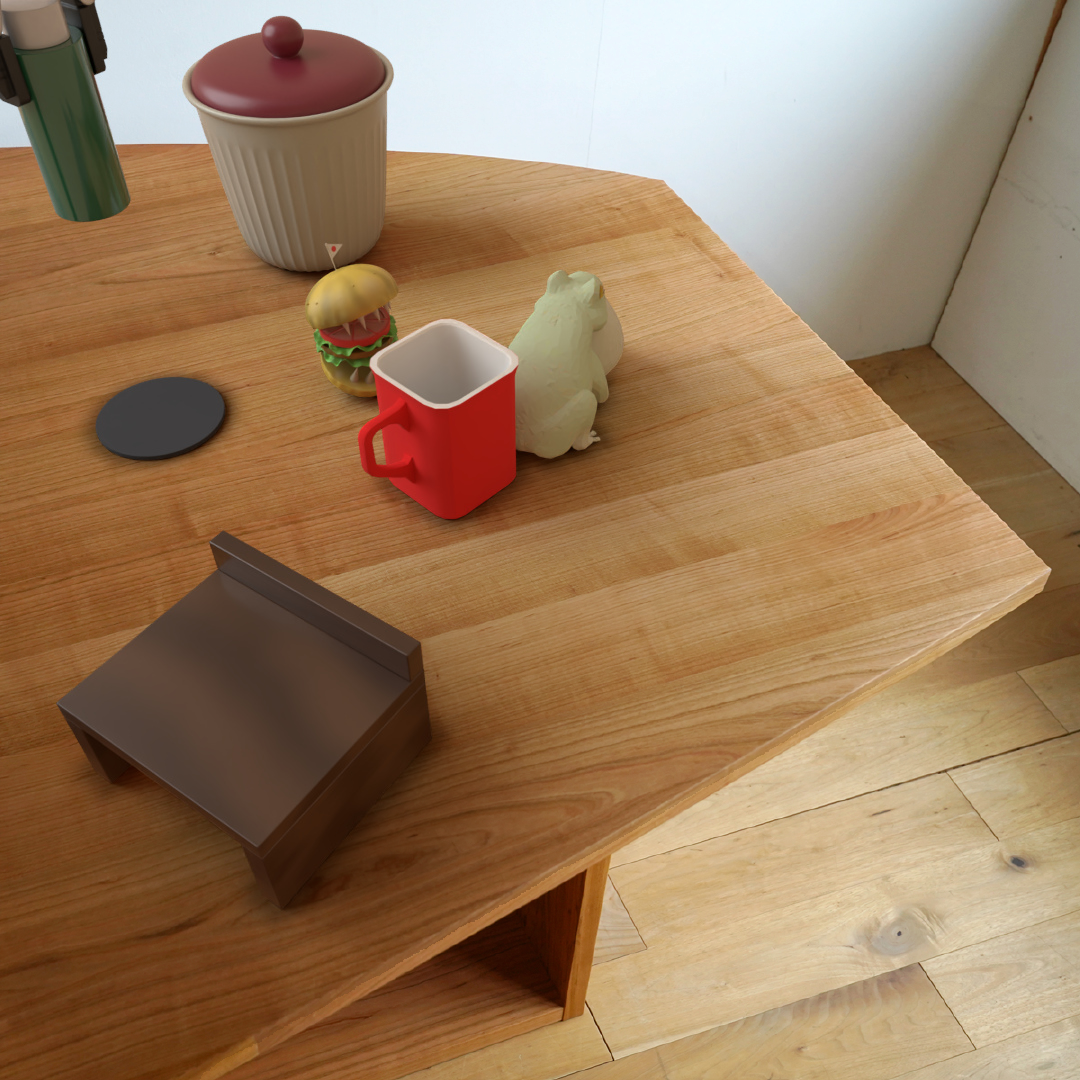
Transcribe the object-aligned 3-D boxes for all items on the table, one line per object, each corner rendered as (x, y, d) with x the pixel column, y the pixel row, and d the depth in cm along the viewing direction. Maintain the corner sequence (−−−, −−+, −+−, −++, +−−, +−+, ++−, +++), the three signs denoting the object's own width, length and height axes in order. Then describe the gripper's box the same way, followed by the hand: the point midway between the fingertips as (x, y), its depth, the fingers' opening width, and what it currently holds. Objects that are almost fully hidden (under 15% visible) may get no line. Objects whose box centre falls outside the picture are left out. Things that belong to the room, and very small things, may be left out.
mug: (454, 425, 83) (446, 313, 75) (529, 474, 79) (529, 360, 71) (336, 501, 77) (315, 386, 69) (411, 557, 73) (397, 443, 65)
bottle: (87, 230, 63) (17, 21, 54) (38, 208, 65) (-37, 3, 56) (146, 199, 65) (88, -4, 57) (98, 179, 67) (35, -21, 59)
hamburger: (360, 420, 83) (340, 291, 75) (299, 385, 86) (273, 257, 78) (426, 375, 87) (414, 248, 79) (366, 343, 91) (348, 217, 82)
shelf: (282, 910, 55) (247, 823, 48) (94, 771, 61) (40, 676, 54) (432, 738, 63) (421, 641, 56) (253, 629, 68) (223, 529, 62)
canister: (413, 198, 108) (394, -20, 93) (403, 294, 96) (380, 61, 81) (239, 199, 108) (191, -20, 93) (206, 296, 95) (145, 62, 80)
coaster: (156, 477, 78) (155, 473, 78) (69, 429, 82) (68, 425, 82) (251, 408, 84) (250, 404, 84) (166, 366, 88) (165, 362, 88)
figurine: (649, 361, 89) (660, 257, 82) (577, 480, 79) (583, 373, 71) (541, 332, 92) (542, 230, 85) (458, 444, 81) (451, 337, 74)
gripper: (12, -316, 53) (109, 32, 65) (-271, -277, 45) (-99, 114, 57) (110, -301, 50) (192, 60, 62) (-174, -256, 42) (-14, 150, 54)
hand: (53, 84), depth 60 cm, fingers closed on bottle, 4 cm apart
